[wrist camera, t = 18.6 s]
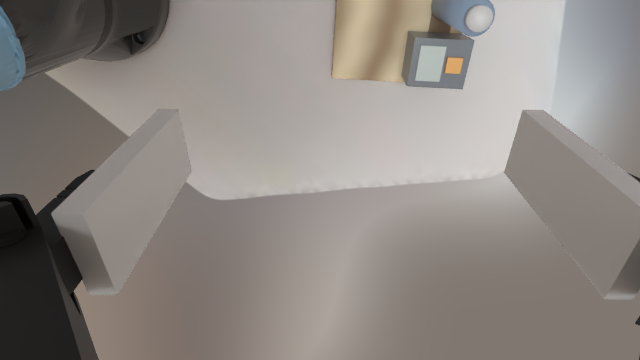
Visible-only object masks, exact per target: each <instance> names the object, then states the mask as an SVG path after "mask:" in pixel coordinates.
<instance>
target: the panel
mask: <svg viewBox="0 0 640 360" xmlns="http://www.w3.org/2000/svg"><path fill="white" fill-rule="evenodd" d="M431 3H432V0H337V2H336V19H335V36H334V53H333V70H332V78H338V79H357V80H376V81H395V82H404V80H403V78H402V76H401V75H402V69H403V62H404V56H405V49H406V43H407V36H408V31H420V32H439V33H458V34H462V32H460V31H458V30H456V29H455V28H453V27H451V26H450V25H448V24H446V23H444V22H443V21H441V20H439V19H437V18H436V17H435V16H434V15H433V13H432V11H431Z"/></svg>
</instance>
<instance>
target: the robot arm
mask: <svg viewBox="0 0 640 360" xmlns="http://www.w3.org/2000/svg"><path fill="white" fill-rule="evenodd" d="M167 14H168V0H0V91H4V90H8V89H11V88H13V87H15V86H16V85H18V83H19V82H22V81H24V80H27V79H29V78H31V77H34V76H37V75H39V74H42V73H44V72H47V71H49V70H52V69H54V68H57V67H59V66H62V65H65V64H67V63H70V62H72V61H75V60H77V59H79V58H85V59H92V60H99V61H117V60H123V59H127V58H130V57H132V56H134V55H136V54H139V53H141V52H143V51H144V50H146V49H147V48H149V47H150V46H151V45H152V44H153V43H154V42H155V41H156V40H157V39H158V37H159V36H160V34H161V32H162V30H163V28H164V25H165V22H166V19H167ZM190 173H191V167H190V162H189V157H188V152H187V148H186V143H185V138H184V134H183V129H182V124H181V120H180V115H179V110H178V109H158V110H157V111H156V112H155V113H154V114H153V115H152V116H151V117H150V118H149V119H148V120H147V121H146V122H145V123H144V124H143V125H142V126H141V127H140V128H139V129H138V130H137V131H136V132H135V133H134V134H133V135H131V136H130V137H129V138H128V139H127V140H126V141H125V142H124V143H123V144H122V145H121V146H120V147H119V148H118V149H117V150H116V151H115V152H114V153H113V154H112V155H111V156H110V157H109V158H108V159H107V160H106V161H105V162H104V163H103V164H102V165H101V166H99V167H98V169H96V170H90V171H88V172H86V173H85V174H83V175H81V176H79V177H77V178H76V179H74V181H72V182H71V183H70V184H69V185H68V186H67V187H66V188H65V190H63V191H62V192H60V193H59V194H58V195H57V198H54V199H53V200H52V201H51V202H50V203H48V204H47V205H46V206H45V207H44V208H43V209H42V210H41V211H40V212H39V213H38V214H37V215H35V213H34V211H33V209H32V207H31V206H30V203H29V202H28V200H27V198H26V197H25V196H24V195H20V194H3V195H0V360H98V357H97V354H96V351H95V348H94V345H93V342H92V340H91V336H90V334H89V331H88V328H87V325H86V322H85V319H84V316H83V313H82V310H81V308H80V305H79V302H78V299H77V297H76V295H75V293H74V289H75V288H76V287H77V285H78V284H79V283H80V281H81V280H83V282H84V284H85V286H86V289H87V291H88V293H89V295H118V293H119V291H120V290H121V288H122V286H123V285H124V283H125V281H126V280H127V278H128V276H129V275H130V273H131V271H132V270H133V268H134V266H135V265H136V263H137V261H138V260H139V258H140V256H141V255H142V253H143V251H144V250H145V248H146V246H147V245H148V243H149V241H150V240H151V238H152V236H153V235H154V233H155V231H156V230H157V228H158V226H159V225H160V223H161V221H162V220H163V218H164V216H165V215H166V213H167V211H168V210H169V208H170V206H171V205H172V203H173V201H174V200H175V198H176V196H177V195H178V193H179V191H180V189H181V188H182V186H183V185H184V183H185V181H186V180H187V178H188V176H189V175H190ZM504 173H505V174H506V176H507V177H508V178H509V179H510V180H511V182H512V183H513V184H514V186H515V187H516V188H517V189H518V191H519V192H520V193H521V194H522V196H523V197H524V198H525V199H526V201H527V202H528V203H529V204H530V206H531V207H532V208H533V210H534V211H535V212H536V213H537V215H538V216H539V217H540V218H541V220H542V221H543V222H544V223H545V225H546V226H547V227H548V228H549V230H550V231H551V232H552V233H553V235H554V236H555V237H556V239H557V240H558V241H559V242H560V243H561V245H562V246H563V247H564V249H565V250H566V251H567V252H568V254H569V255H570V256H571V257H572V259H573V260H574V261H575V263H576V264H577V265H578V266H579V268H580V269H581V270H582V271H583V273H584V274H585V275H586V276H587V278H588V279H589V280H590V281H591V282H592V284H593V285H594V286H595V288H596V289H597V290H598V291H599V293H600V294H601V295H602V297H603V298H604V299H634V297H635V296H636V294H637V293H638V291H639V290H640V178H638V177H635V176H633V175H631V174H629V173H627V172H625V171H624V170H623V169H621V168H620V167H619V166H617V165H616V164H614V163H613V162H612V161H610V160H609V159H608V158H607V157H605V156H604V155H603V154H601V153H600V152H598V151H597V150H596V149H595V148H593V147H592V146H590V145H589V144H588V143H586V142H585V141H584V140H582V139H581V138H580V137H578V136H577V135H576V134H574V133H573V132H572V131H570V130H569V129H567V128H566V127H565V126H563V125H562V124H561V123H560V122H558V121H557V120H556V119H554V118H553V117H552V116H550V115H549V114H548V113H546V112H545V111H544V110H523V111H522V114H521V118H520V121H519V124H518V128H517V131H516V134H515V138H514V141H513V145H512V148H511V151H510V155H509V158H508V161H507V165H506V168H505V172H504ZM635 324H638V325H640V317H639V318H638V320H637V321H636V322H635ZM639 360H640V357H639Z"/></svg>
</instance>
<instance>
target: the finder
mask: <svg viewBox="0 0 640 360" xmlns="http://www.w3.org/2000/svg"><path fill="white" fill-rule="evenodd" d="M473 44H474V40H472V39H471V38H469V37H467V36H466V35H464V34H458V33H439V32H420V31H408V36H407V43H406V49H405V56H404V62H403V69H402V75H401V76H402V78H403V80H404V82H405V83H406V85H407V86H413V87H432V88H451V89H463V85H464V81H465V77H466V73H467V69H468V65H469V60H470V56H471V52H472V48H473Z"/></svg>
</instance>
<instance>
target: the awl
mask: <svg viewBox="0 0 640 360" xmlns="http://www.w3.org/2000/svg"><path fill="white" fill-rule="evenodd" d="M431 11H432V13H433V15H434V16H435V17H436V18H437V19H439V20H441V21H443V22H444V23H446V24H448V25H450V26H451V27H453V28H455V29H456V30H458V31H460V32H462V33H463V34H465V35H467V36H478V35H481V34H483V33H484V32H485V31H487V30H488V29H489V27H490V26H491V25H492V23H493V20H494V16H495V10H494V7H493V5H492V3H491V2H490V1H489V0H432V3H431Z"/></svg>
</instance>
